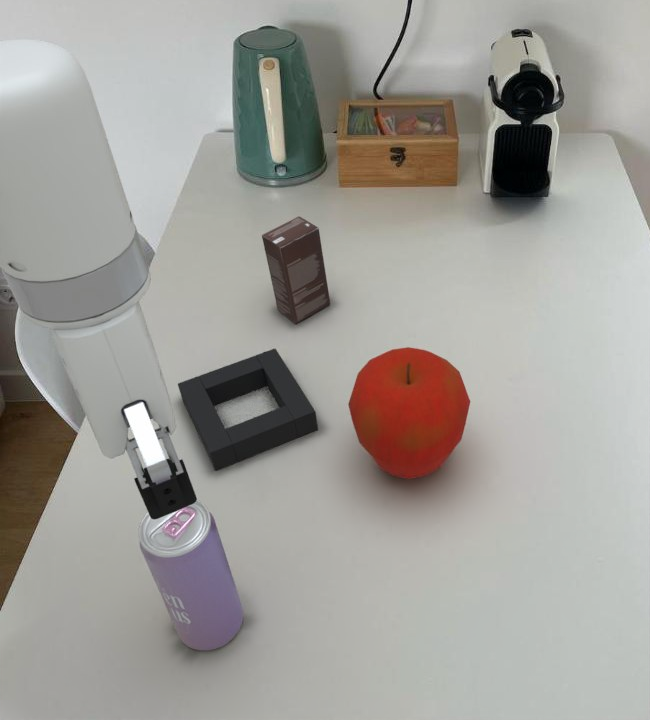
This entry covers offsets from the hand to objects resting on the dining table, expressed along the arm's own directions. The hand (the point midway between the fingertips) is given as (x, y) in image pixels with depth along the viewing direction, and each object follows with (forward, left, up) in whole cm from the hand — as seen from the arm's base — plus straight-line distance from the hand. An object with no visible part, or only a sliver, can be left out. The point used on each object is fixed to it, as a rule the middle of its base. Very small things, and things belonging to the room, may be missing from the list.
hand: (155, 460), depth 58 cm
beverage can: (0, 0, -23) cm, 23 cm away
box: (+25, +38, -23) cm, 51 cm away
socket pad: (+12, +23, -23) cm, 34 cm away
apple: (+25, +8, -23) cm, 35 cm away
